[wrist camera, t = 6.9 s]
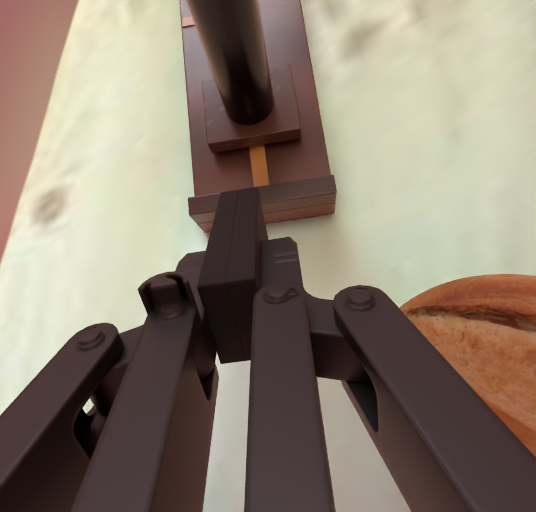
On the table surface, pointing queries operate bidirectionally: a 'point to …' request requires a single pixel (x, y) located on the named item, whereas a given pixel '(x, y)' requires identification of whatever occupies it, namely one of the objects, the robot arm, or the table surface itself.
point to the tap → (242, 78)
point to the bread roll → (487, 341)
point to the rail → (267, 155)
